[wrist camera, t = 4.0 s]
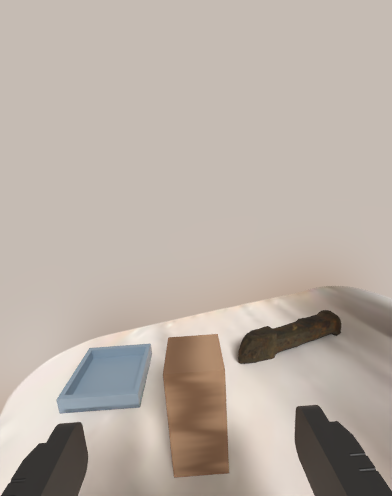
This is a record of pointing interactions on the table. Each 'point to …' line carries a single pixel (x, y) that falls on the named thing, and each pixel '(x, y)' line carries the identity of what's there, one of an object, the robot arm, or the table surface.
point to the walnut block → (196, 405)
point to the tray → (107, 379)
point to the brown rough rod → (286, 336)
